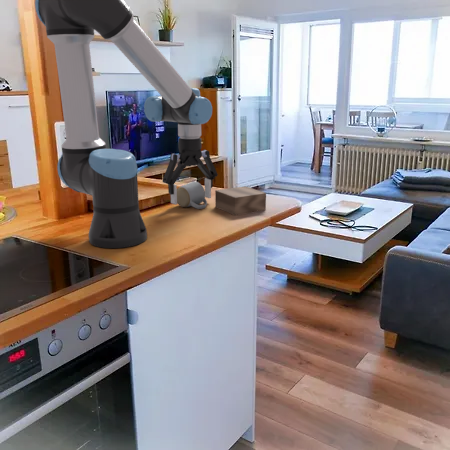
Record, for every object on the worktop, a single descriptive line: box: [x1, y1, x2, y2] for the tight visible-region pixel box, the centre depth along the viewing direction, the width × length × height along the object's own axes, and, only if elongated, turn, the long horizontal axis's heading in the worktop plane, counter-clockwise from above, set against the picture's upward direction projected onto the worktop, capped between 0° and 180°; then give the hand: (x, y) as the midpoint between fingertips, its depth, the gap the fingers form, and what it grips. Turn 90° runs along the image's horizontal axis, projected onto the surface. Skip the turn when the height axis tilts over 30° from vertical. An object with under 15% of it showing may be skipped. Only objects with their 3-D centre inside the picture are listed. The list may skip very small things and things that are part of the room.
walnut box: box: [214, 185, 267, 216], centre depth 158 cm, size 12×12×6 cm
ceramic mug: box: [177, 181, 208, 210], centre depth 160 cm, size 11×8×8 cm
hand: (191, 200), depth 162 cm, fingers open, 13 cm apart
